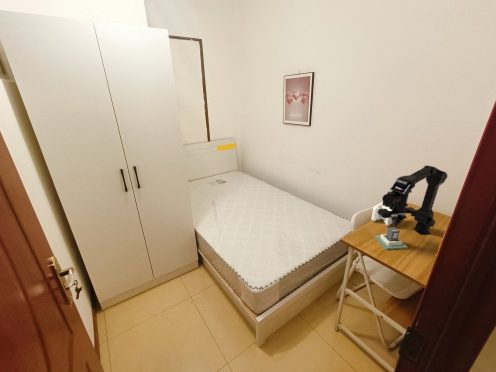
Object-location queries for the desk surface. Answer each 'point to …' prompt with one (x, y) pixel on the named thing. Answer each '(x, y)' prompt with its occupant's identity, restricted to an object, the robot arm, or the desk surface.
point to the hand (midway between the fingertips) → (394, 225)
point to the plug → (392, 234)
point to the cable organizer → (376, 216)
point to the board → (390, 246)
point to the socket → (390, 243)
